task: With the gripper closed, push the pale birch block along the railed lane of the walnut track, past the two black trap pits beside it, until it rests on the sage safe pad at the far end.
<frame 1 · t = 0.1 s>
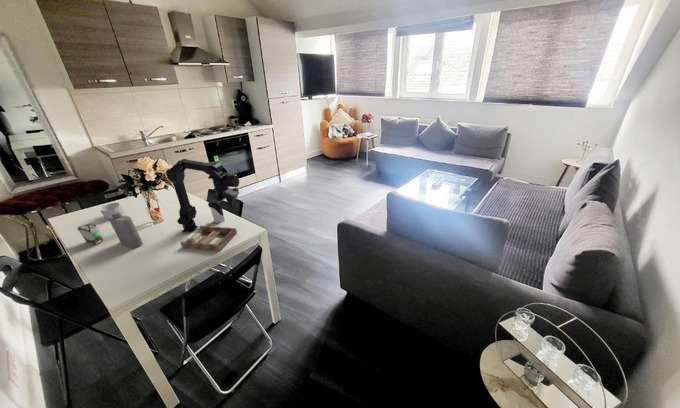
hand: (226, 211, 148), 15 cm above the table, fingers open, 9 cm apart
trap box: (209, 240, 149), on the table
skincare box: (219, 220, 168), on the table
teacup: (113, 216, 178), on the table
food container: (98, 240, 152), on the table
birch block: (195, 240, 146), point 2 cm above the table, touching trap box
flask: (131, 244, 148), on the table
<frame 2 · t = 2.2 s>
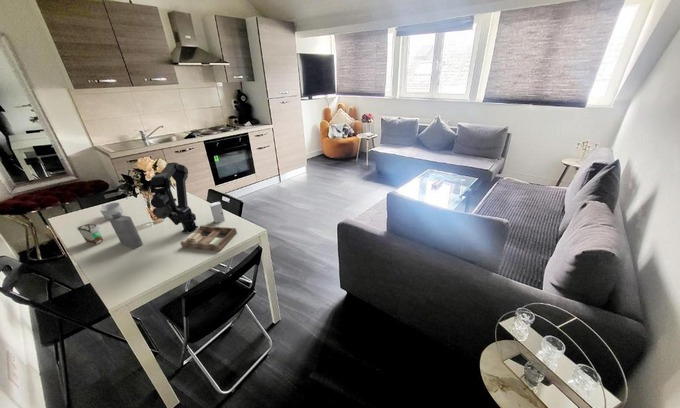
hand: (177, 224, 143), 11 cm above the table, fingers closed
nothing on the table moved.
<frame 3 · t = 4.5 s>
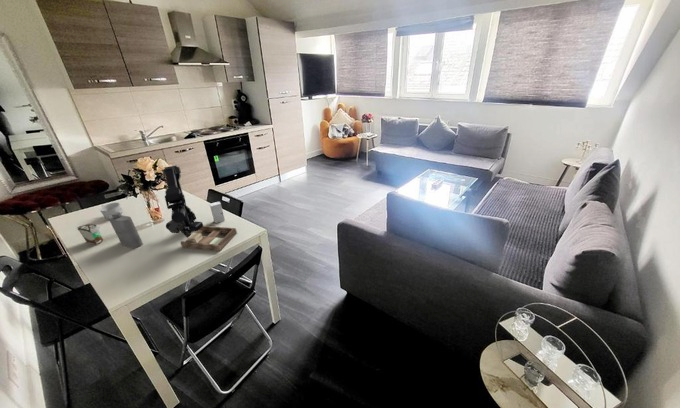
hand: (189, 238, 146), 3 cm above the table, fingers closed
birch block: (195, 240, 146), point 2 cm above the table, touching gripper, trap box
everything else where it was.
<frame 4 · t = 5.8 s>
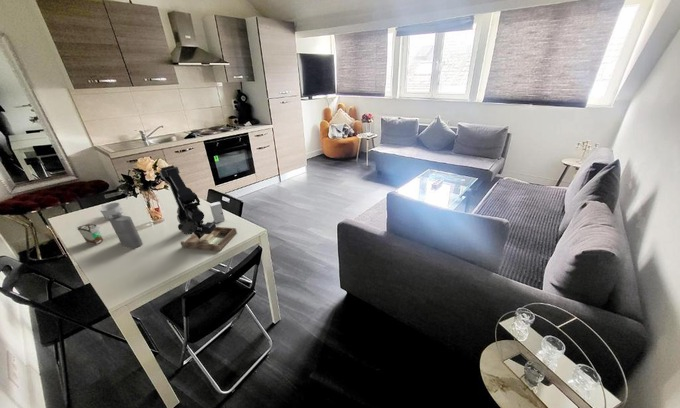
hand: (201, 239, 144), 3 cm above the table, fingers closed
birch block: (207, 241, 144), point 2 cm above the table, touching gripper
everything else where it was.
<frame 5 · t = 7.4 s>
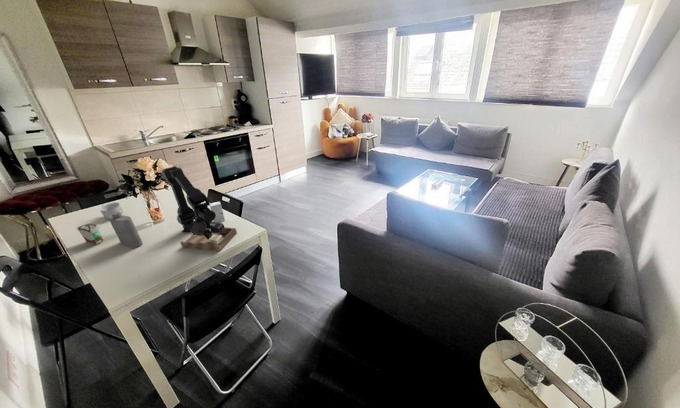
hand: (209, 240, 144), 3 cm above the table, fingers closed
birch block: (216, 242, 144), point 2 cm above the table, touching gripper, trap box
everything else where it was.
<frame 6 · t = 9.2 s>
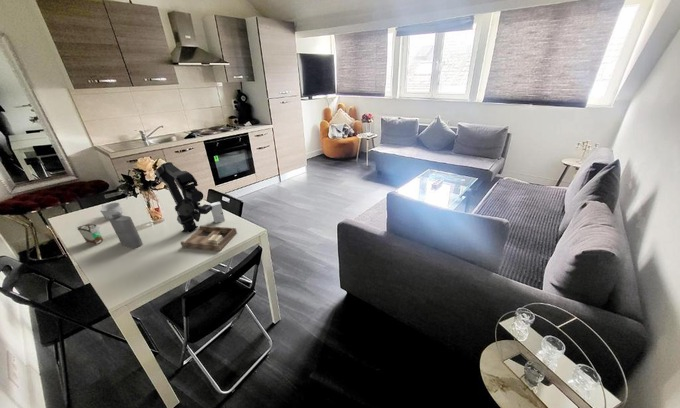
hand: (197, 221, 145), 12 cm above the table, fingers closed
birch block: (216, 242, 144), point 2 cm above the table, touching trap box
everything else where it was.
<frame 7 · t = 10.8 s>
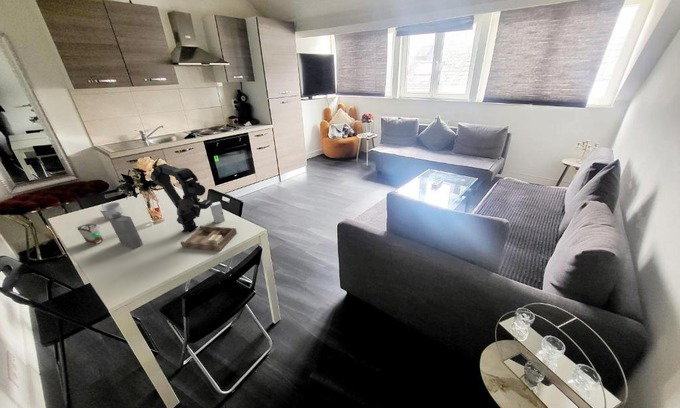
hand: (198, 217, 148), 12 cm above the table, fingers closed
nothing on the table moved.
at the end: birch block 0.5 cm from the target spot on the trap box, point 2.0 cm above the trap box's base; birch block tilted 0° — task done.
